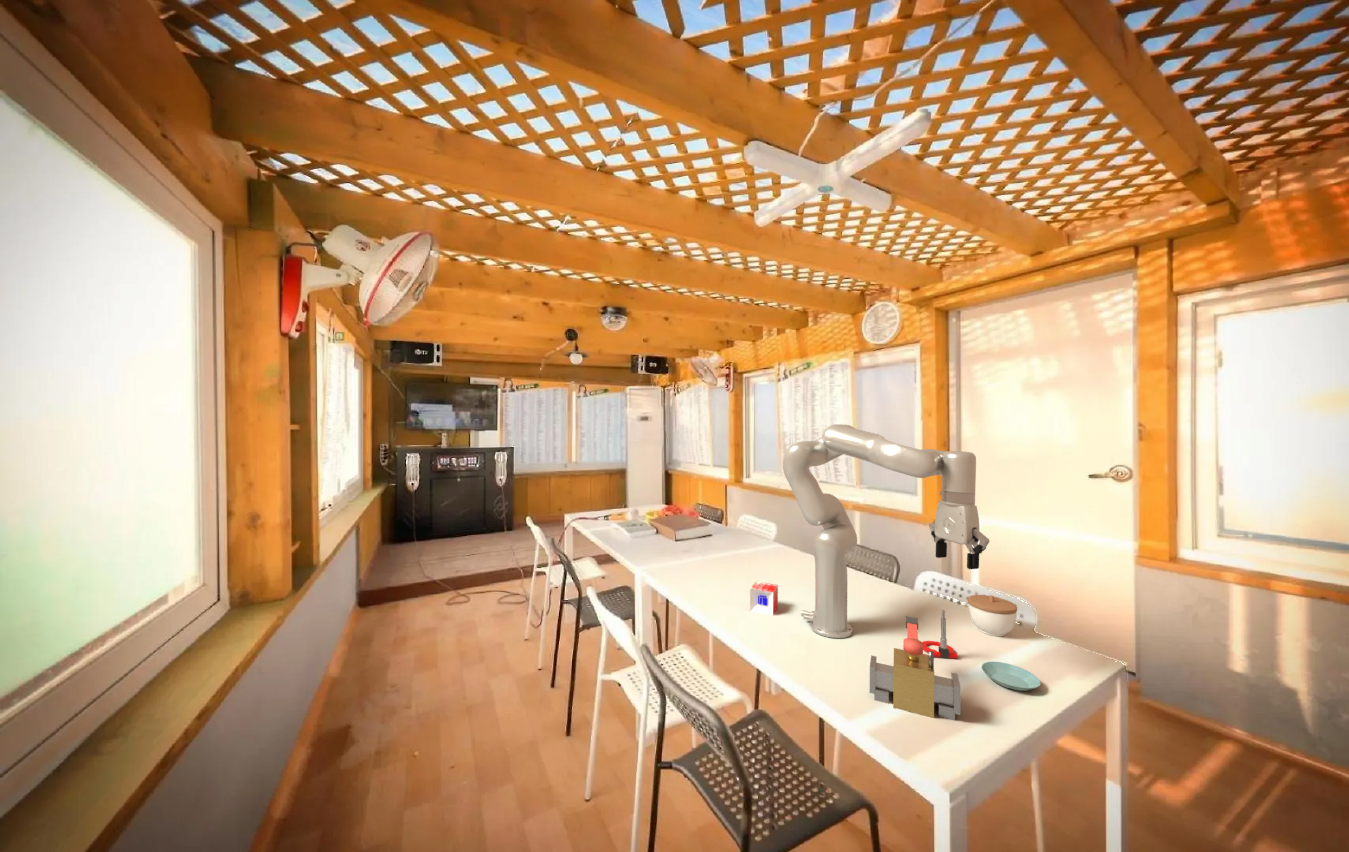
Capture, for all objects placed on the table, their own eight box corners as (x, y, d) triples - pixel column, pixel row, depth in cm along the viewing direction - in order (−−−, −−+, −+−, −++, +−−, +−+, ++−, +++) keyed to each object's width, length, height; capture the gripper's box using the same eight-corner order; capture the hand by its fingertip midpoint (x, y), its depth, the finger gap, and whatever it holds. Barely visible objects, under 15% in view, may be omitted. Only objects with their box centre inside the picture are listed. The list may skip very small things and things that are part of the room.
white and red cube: (777, 607, 159) (777, 584, 159) (773, 615, 152) (773, 592, 152) (755, 603, 162) (755, 581, 162) (749, 611, 155) (749, 588, 155)
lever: (923, 656, 101) (923, 647, 101) (903, 652, 103) (903, 643, 103) (920, 626, 117) (920, 618, 117) (903, 623, 119) (903, 615, 119)
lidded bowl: (986, 620, 149) (986, 587, 149) (1027, 637, 137) (1027, 601, 137) (958, 625, 145) (958, 591, 145) (997, 643, 133) (997, 605, 133)
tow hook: (915, 643, 134) (928, 657, 125) (915, 599, 134) (928, 610, 125) (946, 646, 133) (961, 660, 123) (946, 601, 133) (961, 612, 124)
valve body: (869, 701, 104) (869, 643, 104) (871, 683, 112) (871, 629, 112) (960, 724, 96) (961, 661, 96) (956, 704, 104) (957, 645, 104)
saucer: (1047, 686, 112) (1047, 677, 112) (1030, 702, 105) (1030, 693, 105) (992, 665, 121) (992, 657, 121) (973, 679, 114) (973, 670, 114)
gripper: (920, 493, 127) (919, 554, 127) (976, 504, 110) (974, 574, 110) (942, 492, 129) (940, 552, 129) (1000, 503, 112) (998, 572, 112)
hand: (956, 562), depth 119 cm, fingers open, 9 cm apart
